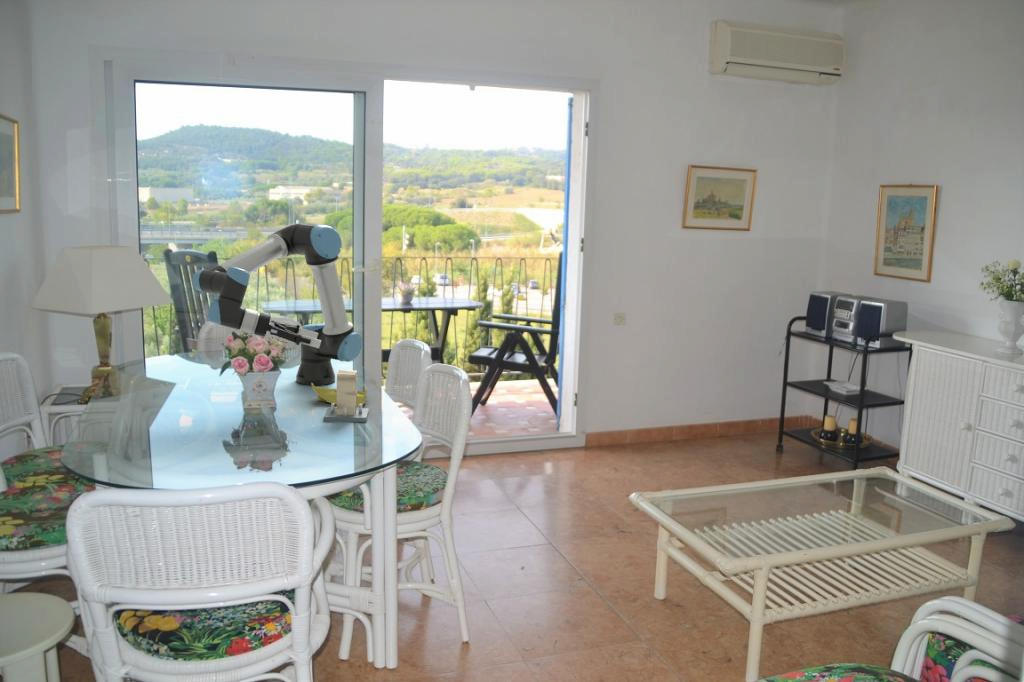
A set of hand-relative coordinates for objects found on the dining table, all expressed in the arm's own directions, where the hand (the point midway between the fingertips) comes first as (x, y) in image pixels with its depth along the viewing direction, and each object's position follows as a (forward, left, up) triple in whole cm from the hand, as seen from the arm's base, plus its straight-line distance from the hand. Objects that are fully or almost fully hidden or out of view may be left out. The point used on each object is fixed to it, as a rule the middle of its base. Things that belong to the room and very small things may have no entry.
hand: (318, 340), depth 279 cm
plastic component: (-13, +6, -25) cm, 29 cm away
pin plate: (+7, +10, -25) cm, 28 cm away
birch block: (+7, +10, -23) cm, 26 cm away
